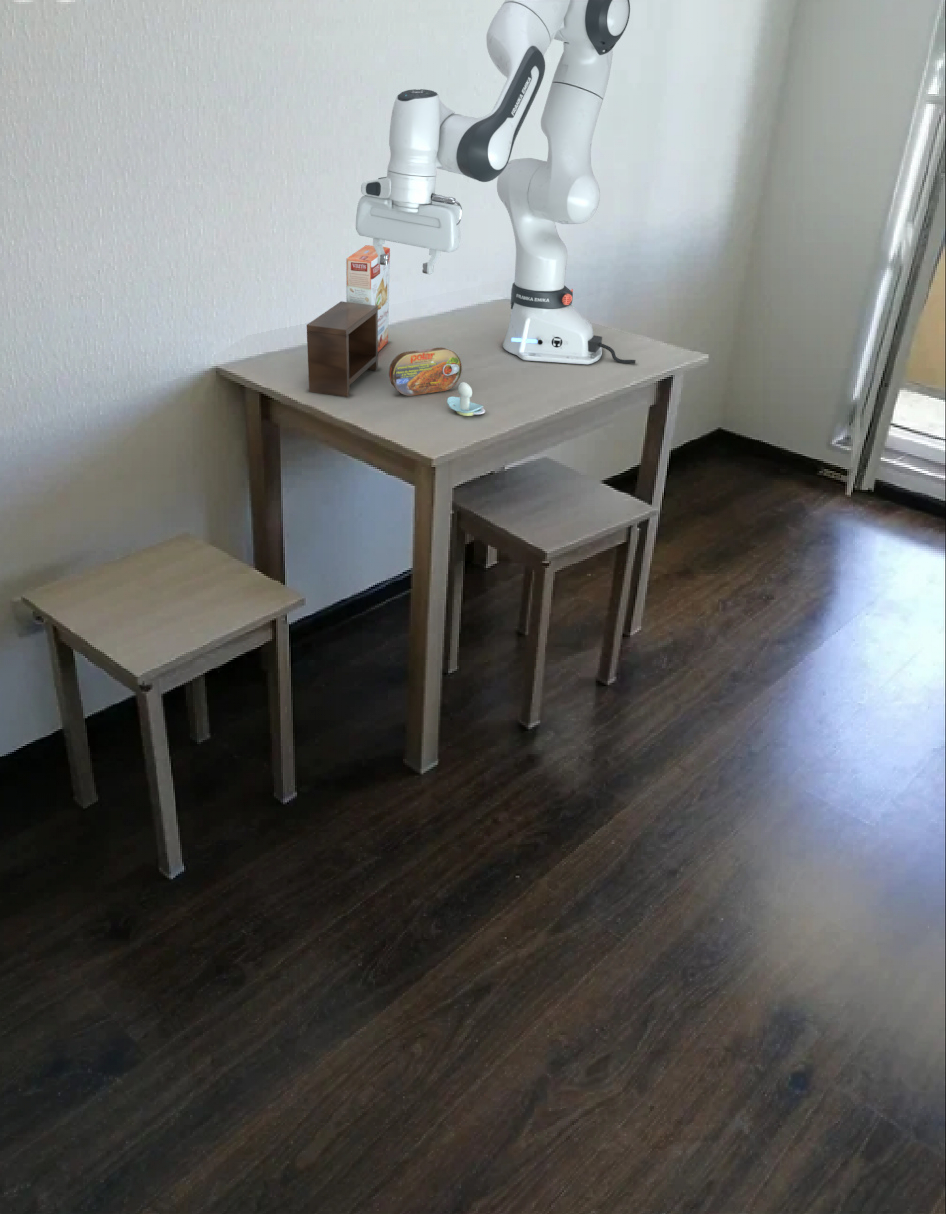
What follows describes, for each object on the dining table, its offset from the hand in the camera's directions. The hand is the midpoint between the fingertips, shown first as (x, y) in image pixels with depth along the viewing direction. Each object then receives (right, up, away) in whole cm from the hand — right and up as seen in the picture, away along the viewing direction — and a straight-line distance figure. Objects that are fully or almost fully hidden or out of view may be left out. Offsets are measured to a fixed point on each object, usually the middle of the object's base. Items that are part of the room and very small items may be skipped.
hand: (405, 268), depth 185 cm
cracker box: (-10, -7, +32) cm, 35 cm away
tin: (+3, -21, +12) cm, 24 cm away
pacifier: (+12, -27, +3) cm, 29 cm away
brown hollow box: (-13, -17, +15) cm, 27 cm away
